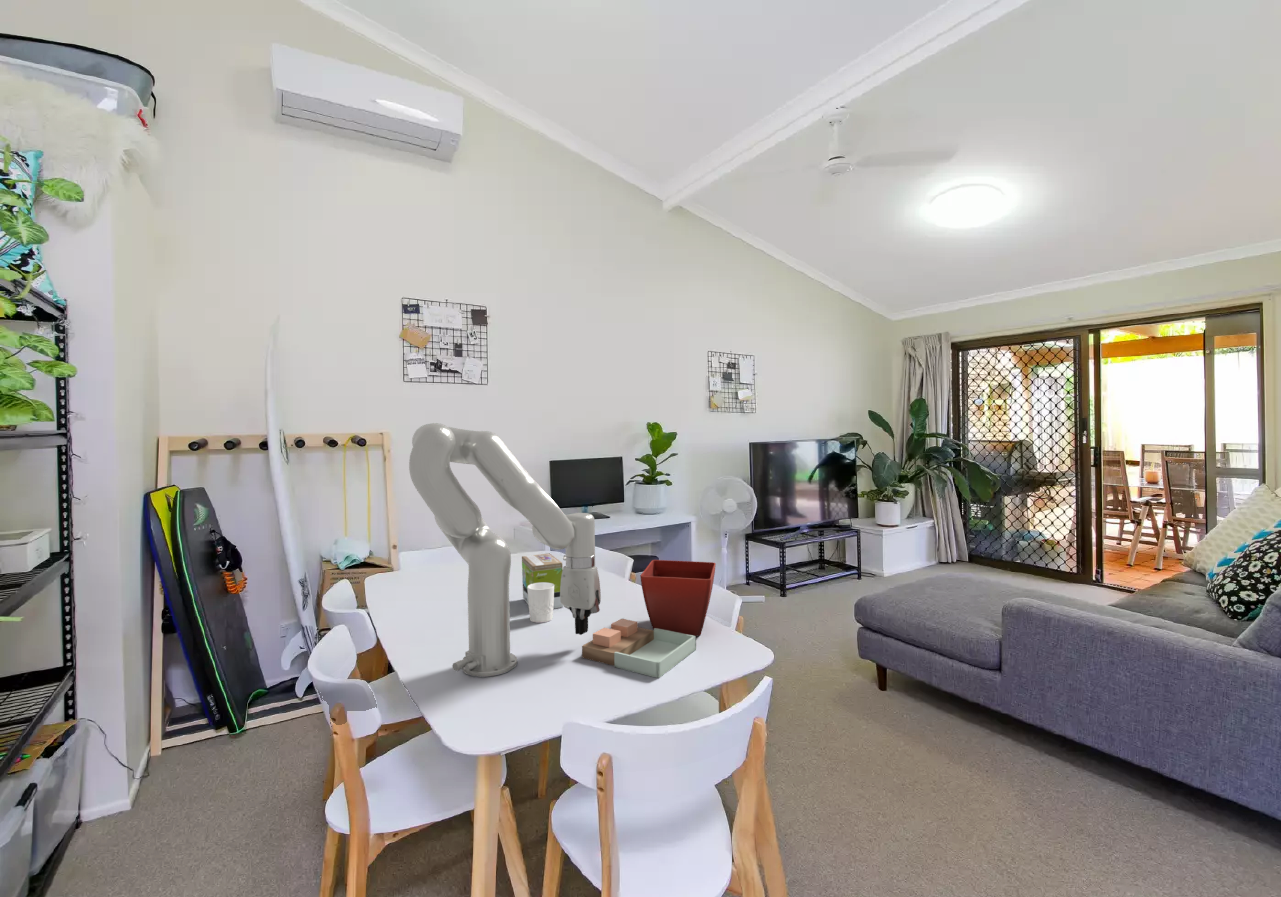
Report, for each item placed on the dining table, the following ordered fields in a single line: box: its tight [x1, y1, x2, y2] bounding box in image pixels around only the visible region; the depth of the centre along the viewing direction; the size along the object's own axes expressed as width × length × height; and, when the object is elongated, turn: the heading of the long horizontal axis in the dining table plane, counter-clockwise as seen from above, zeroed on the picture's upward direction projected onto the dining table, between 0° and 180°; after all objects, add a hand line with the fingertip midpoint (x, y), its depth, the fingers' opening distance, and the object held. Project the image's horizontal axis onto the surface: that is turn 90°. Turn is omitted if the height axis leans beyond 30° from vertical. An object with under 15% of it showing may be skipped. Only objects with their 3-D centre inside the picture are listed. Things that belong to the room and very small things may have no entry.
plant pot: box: [640, 559, 717, 637], centre depth 161 cm, size 19×19×17 cm
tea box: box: [521, 553, 564, 610], centre depth 184 cm, size 15×10×15 cm, turn 25°
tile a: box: [592, 627, 621, 647], centre depth 142 cm, size 5×5×2 cm
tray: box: [614, 628, 697, 679], centre depth 139 cm, size 19×12×4 cm, turn 149°
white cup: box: [527, 582, 554, 624], centre depth 169 cm, size 8×8×10 cm
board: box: [581, 626, 654, 667], centre depth 145 cm, size 18×10×3 cm, turn 149°
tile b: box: [610, 618, 639, 637], centre depth 149 cm, size 5×5×2 cm
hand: (581, 632), depth 146 cm, fingers closed
